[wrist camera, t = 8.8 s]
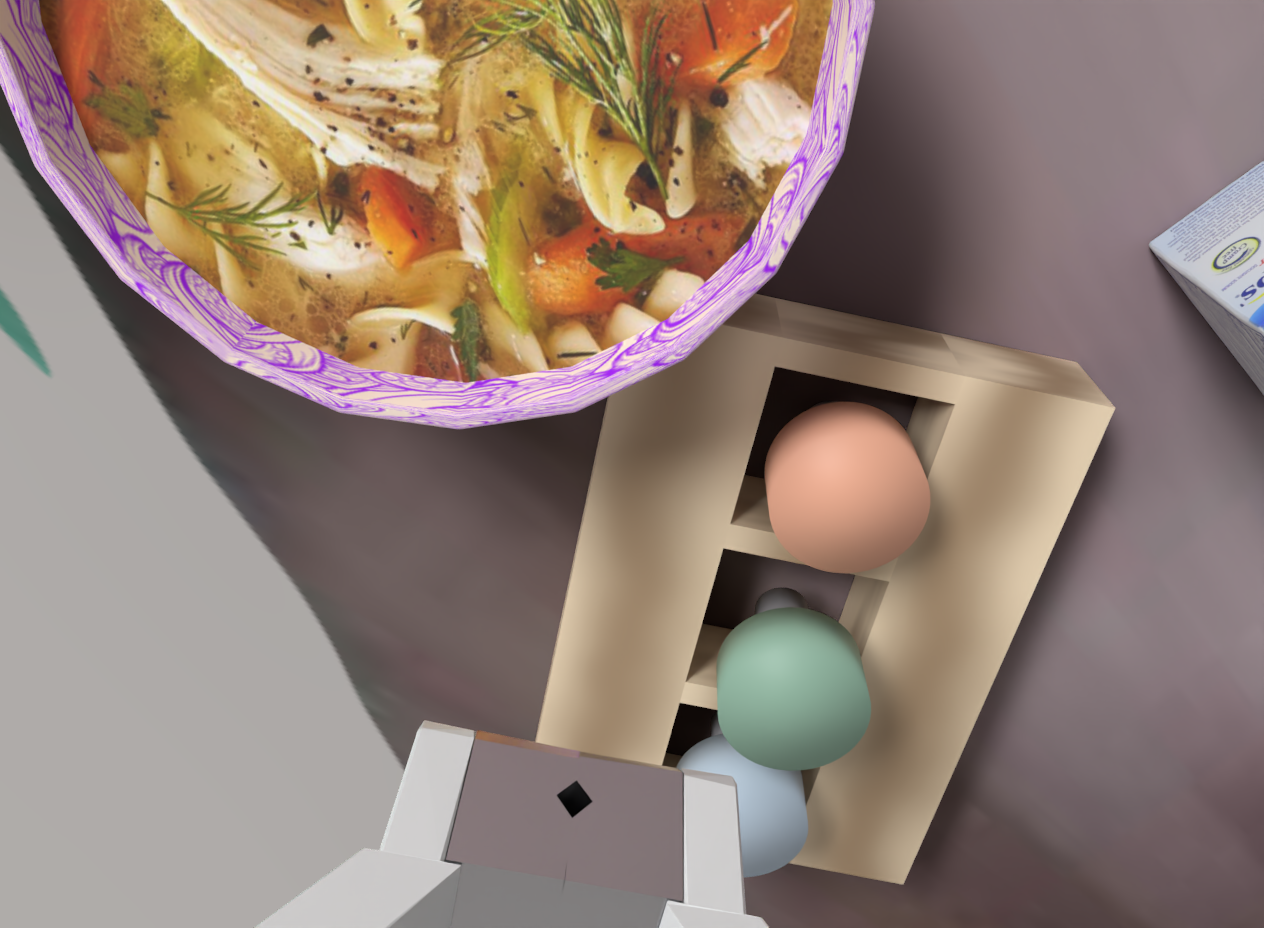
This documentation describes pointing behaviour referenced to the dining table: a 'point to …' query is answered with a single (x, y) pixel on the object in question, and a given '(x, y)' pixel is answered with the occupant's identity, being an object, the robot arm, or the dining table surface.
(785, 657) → the button green
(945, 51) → the dining table surface
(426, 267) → the bowl of food
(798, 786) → the button slate
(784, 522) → the button terracotta
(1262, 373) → the medicine box
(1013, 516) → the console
